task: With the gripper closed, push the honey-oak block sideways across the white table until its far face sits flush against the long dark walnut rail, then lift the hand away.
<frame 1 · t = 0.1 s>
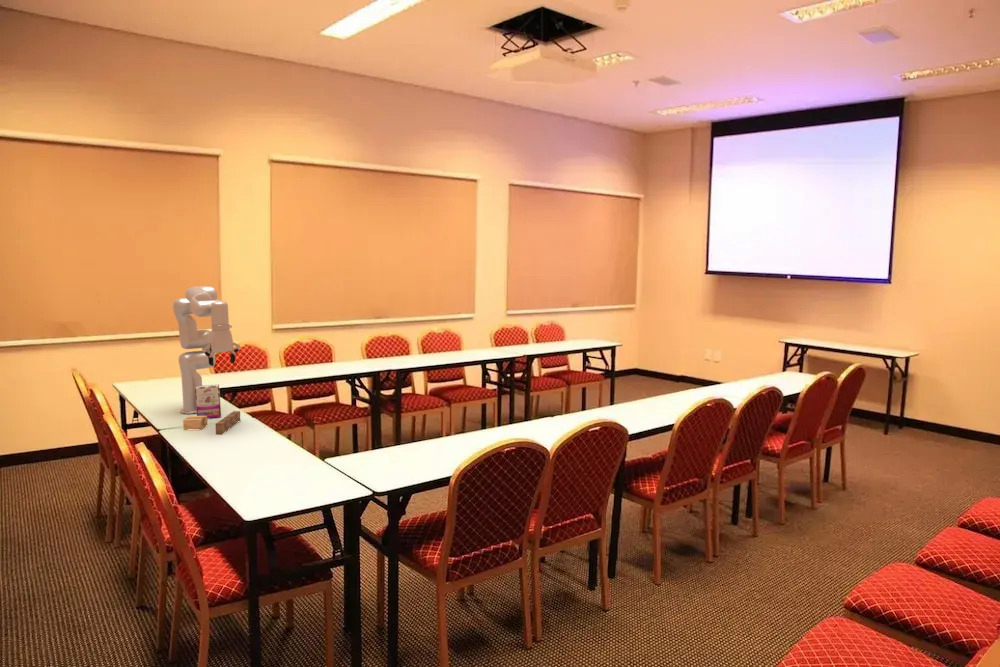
hand: (222, 364, 311), 31 cm above the table, tool pointing down, fingers open, 9 cm apart
rail: (228, 427, 317), on the table
candy bar box: (209, 417, 336), on the table
block: (195, 428, 317), on the table
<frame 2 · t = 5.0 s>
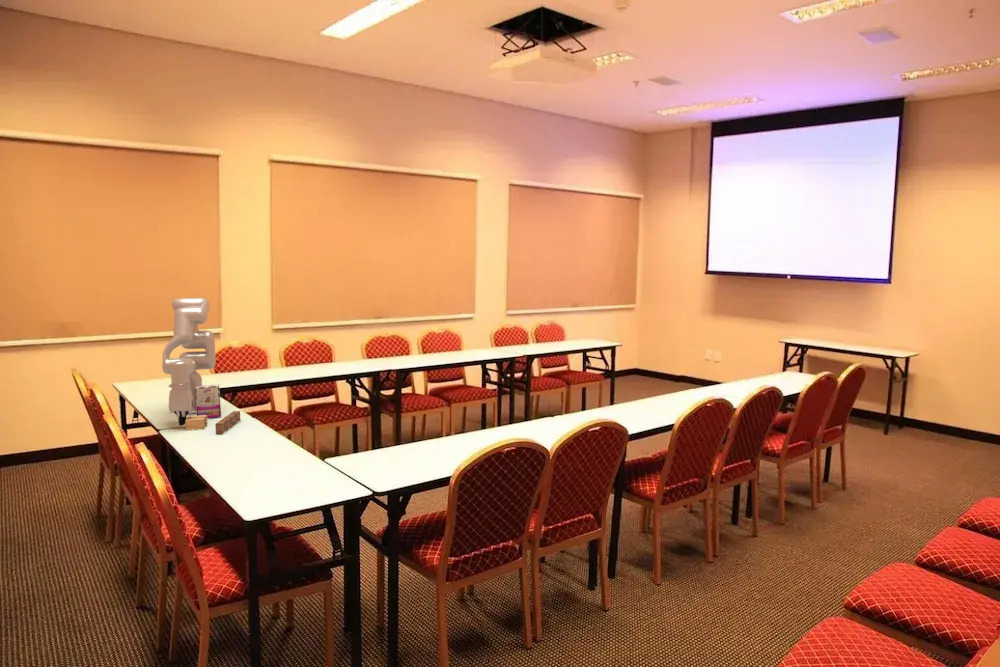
hand: (182, 424, 316), 2 cm above the table, tool pointing down, fingers closed
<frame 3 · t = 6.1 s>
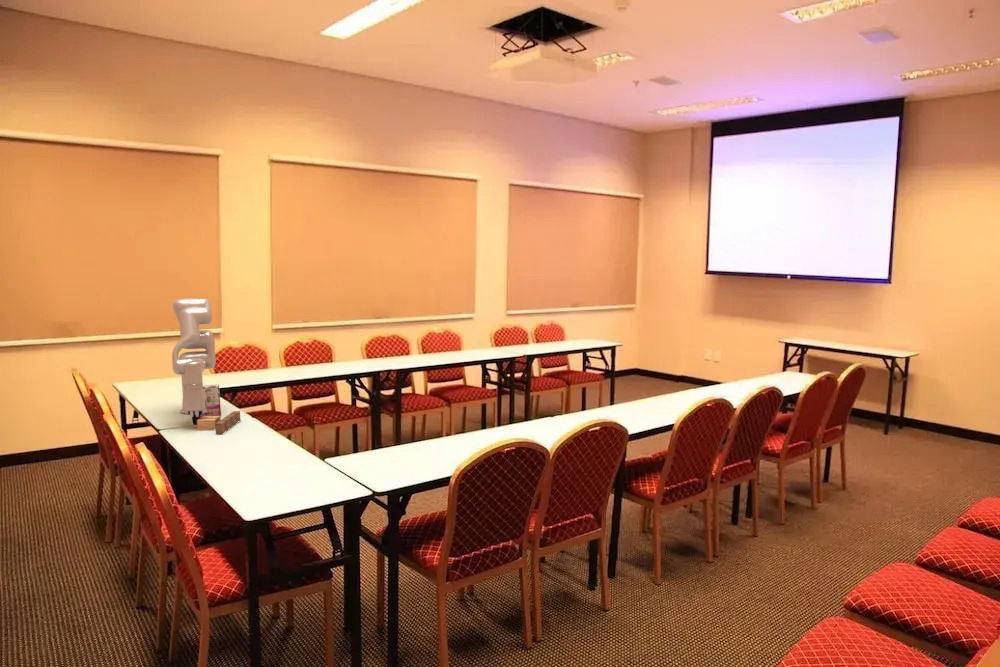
hand: (196, 424, 317), 2 cm above the table, tool pointing down, fingers closed
block: (209, 428, 316), on the table, touching gripper
everything else where it was.
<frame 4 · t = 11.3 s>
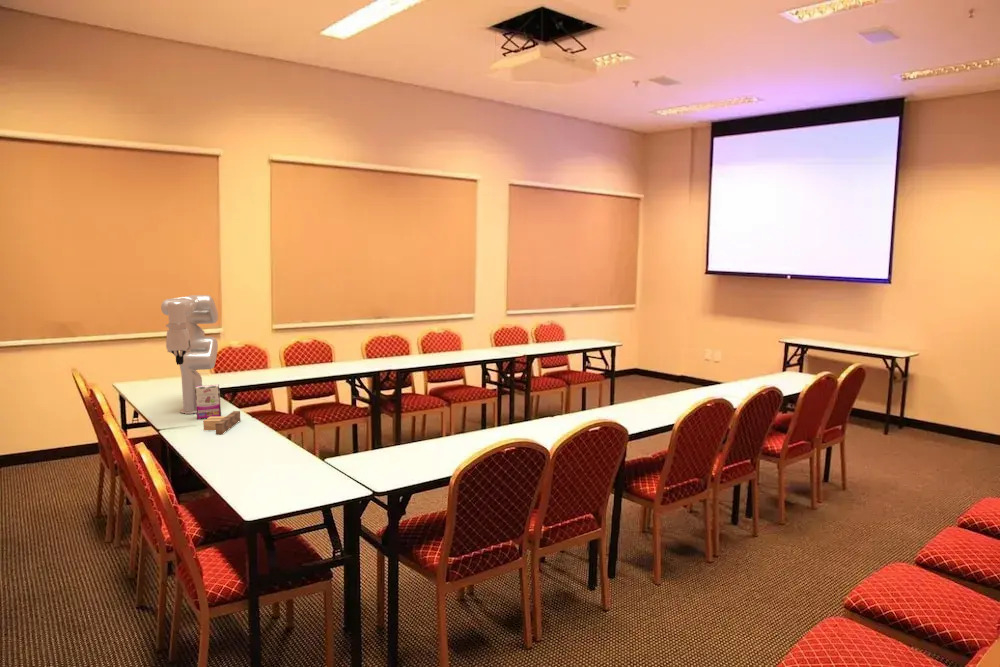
hand: (179, 364, 323), 29 cm above the table, tool pointing down, fingers closed
block: (215, 428, 316), on the table
everything else where it was.
at the end: block inside the target area on the table beside the rail (1.6 cm from its centre), on the table; block tilted 0° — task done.
